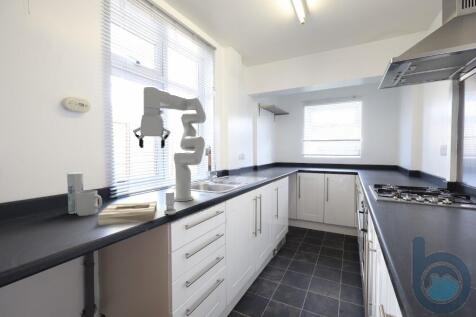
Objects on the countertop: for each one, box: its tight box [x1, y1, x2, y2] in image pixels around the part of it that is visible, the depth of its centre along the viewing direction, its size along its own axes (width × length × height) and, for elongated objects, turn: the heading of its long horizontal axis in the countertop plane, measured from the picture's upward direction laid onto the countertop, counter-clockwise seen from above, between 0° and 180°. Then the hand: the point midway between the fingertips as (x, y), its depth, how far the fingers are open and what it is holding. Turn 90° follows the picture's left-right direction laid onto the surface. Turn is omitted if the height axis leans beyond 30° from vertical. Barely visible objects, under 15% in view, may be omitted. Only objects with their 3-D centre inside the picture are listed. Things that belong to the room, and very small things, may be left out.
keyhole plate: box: [97, 201, 158, 226], centre depth 103 cm, size 18×22×4 cm
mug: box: [76, 189, 103, 217], centre depth 108 cm, size 12×8×11 cm
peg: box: [163, 190, 177, 216], centre depth 108 cm, size 6×6×11 cm
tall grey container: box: [66, 171, 84, 215], centre depth 110 cm, size 6×6×20 cm
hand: (152, 148), depth 106 cm, fingers open, 9 cm apart
